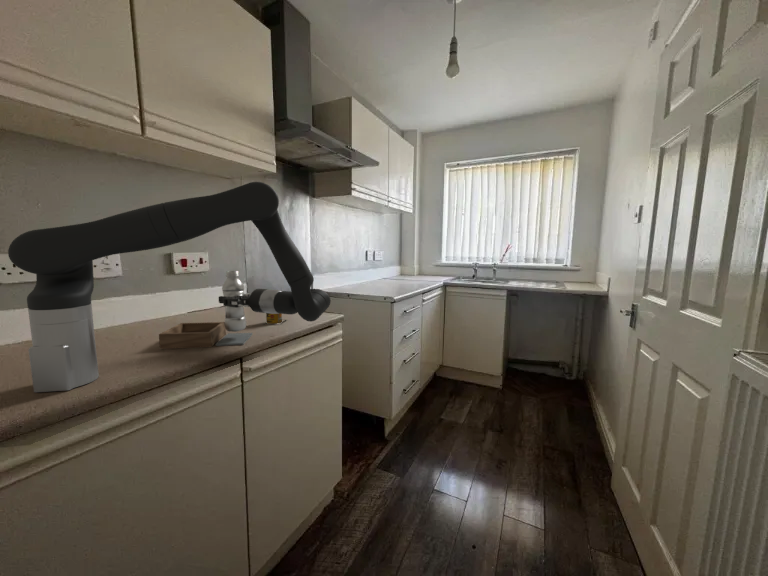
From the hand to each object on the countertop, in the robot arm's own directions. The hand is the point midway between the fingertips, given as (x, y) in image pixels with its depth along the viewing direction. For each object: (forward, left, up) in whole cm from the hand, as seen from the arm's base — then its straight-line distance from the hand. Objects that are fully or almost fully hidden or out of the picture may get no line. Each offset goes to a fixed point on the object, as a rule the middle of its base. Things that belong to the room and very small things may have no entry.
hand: (228, 298), depth 98 cm
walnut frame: (-1, +10, -14) cm, 17 cm away
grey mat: (-1, -2, -14) cm, 14 cm away
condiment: (+23, -11, -14) cm, 29 cm away
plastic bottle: (-1, -2, -11) cm, 11 cm away
